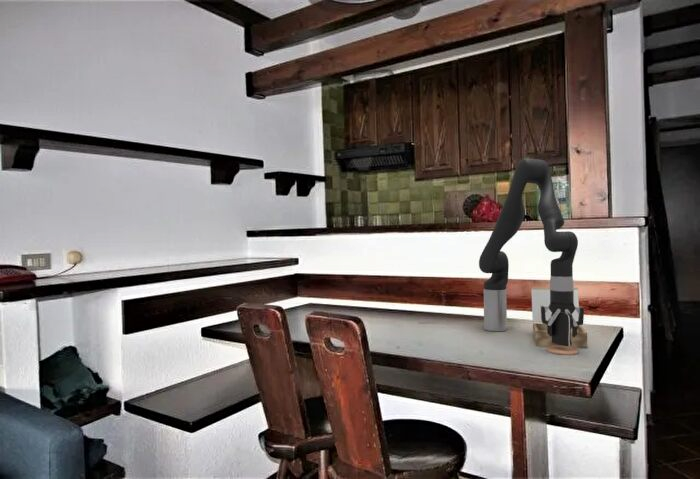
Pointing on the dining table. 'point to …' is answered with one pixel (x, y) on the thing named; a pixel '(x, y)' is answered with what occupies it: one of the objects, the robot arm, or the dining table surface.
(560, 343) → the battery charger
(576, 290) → the lid
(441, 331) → the dining table surface
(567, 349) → the saucer
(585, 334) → the wooden box
